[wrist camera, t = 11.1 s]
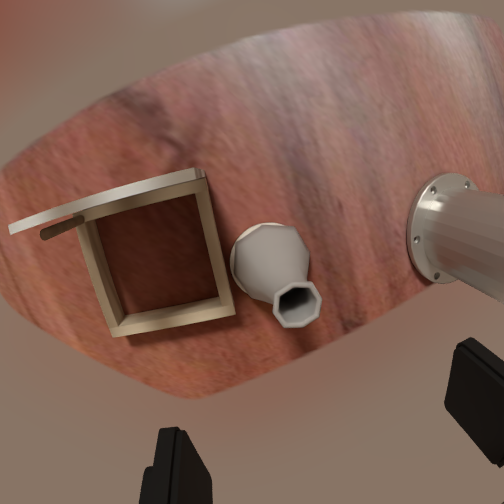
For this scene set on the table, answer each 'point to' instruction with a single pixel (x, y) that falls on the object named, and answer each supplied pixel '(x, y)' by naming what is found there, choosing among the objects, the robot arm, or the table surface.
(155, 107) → the table surface
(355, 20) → the table surface
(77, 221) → the open-lid wooden box
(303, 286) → the flask
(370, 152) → the table surface
